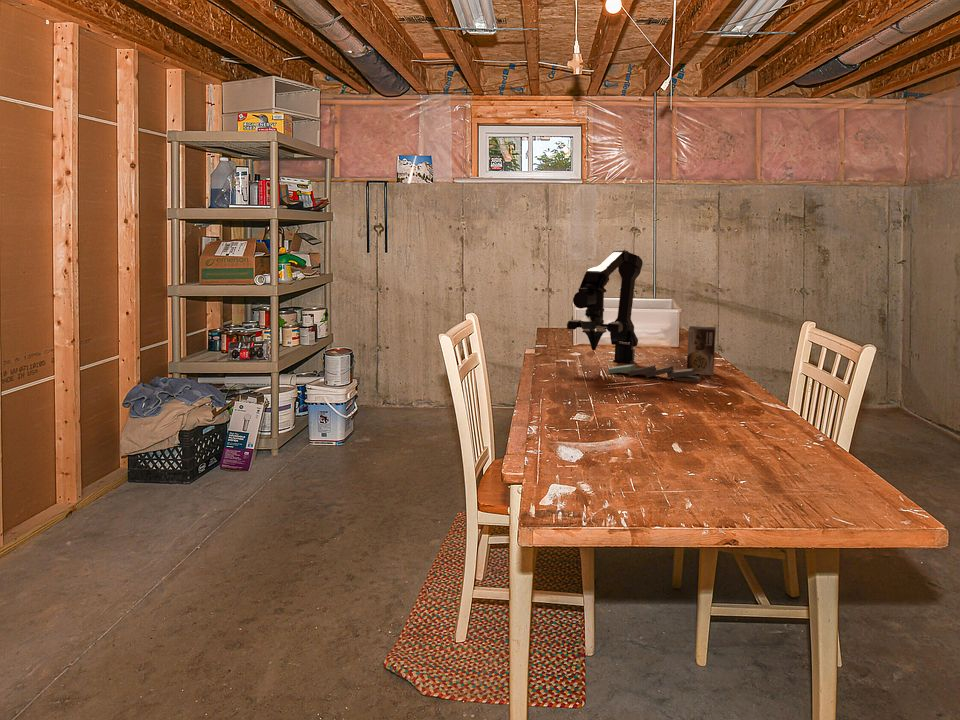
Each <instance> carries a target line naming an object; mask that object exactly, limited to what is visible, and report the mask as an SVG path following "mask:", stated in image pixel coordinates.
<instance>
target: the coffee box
mask: <svg viewBox="0 0 960 720" xmlns="http://www.w3.org/2000/svg"><path fill="white" fill-rule="evenodd" d="M687 330H688V331H687V333H688V334H687V354H686V369H693V368H694V372H695V373H694V374H693V375H696V374H699V375H698V376H714V373H715V357H716V356H715V355H716V334H717V327H716V326H688V329H687Z"/></svg>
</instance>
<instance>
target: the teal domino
mask: <svg viewBox="0 0 960 720" xmlns="http://www.w3.org/2000/svg"><path fill="white" fill-rule="evenodd" d="M607 369H608V370H607V371H608V374H618V373H628V371H632V370H634V369H637V368H636V364H635V363H634V364H625V365H619V366H618V365H617V366H612V367H610V368H607Z"/></svg>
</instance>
